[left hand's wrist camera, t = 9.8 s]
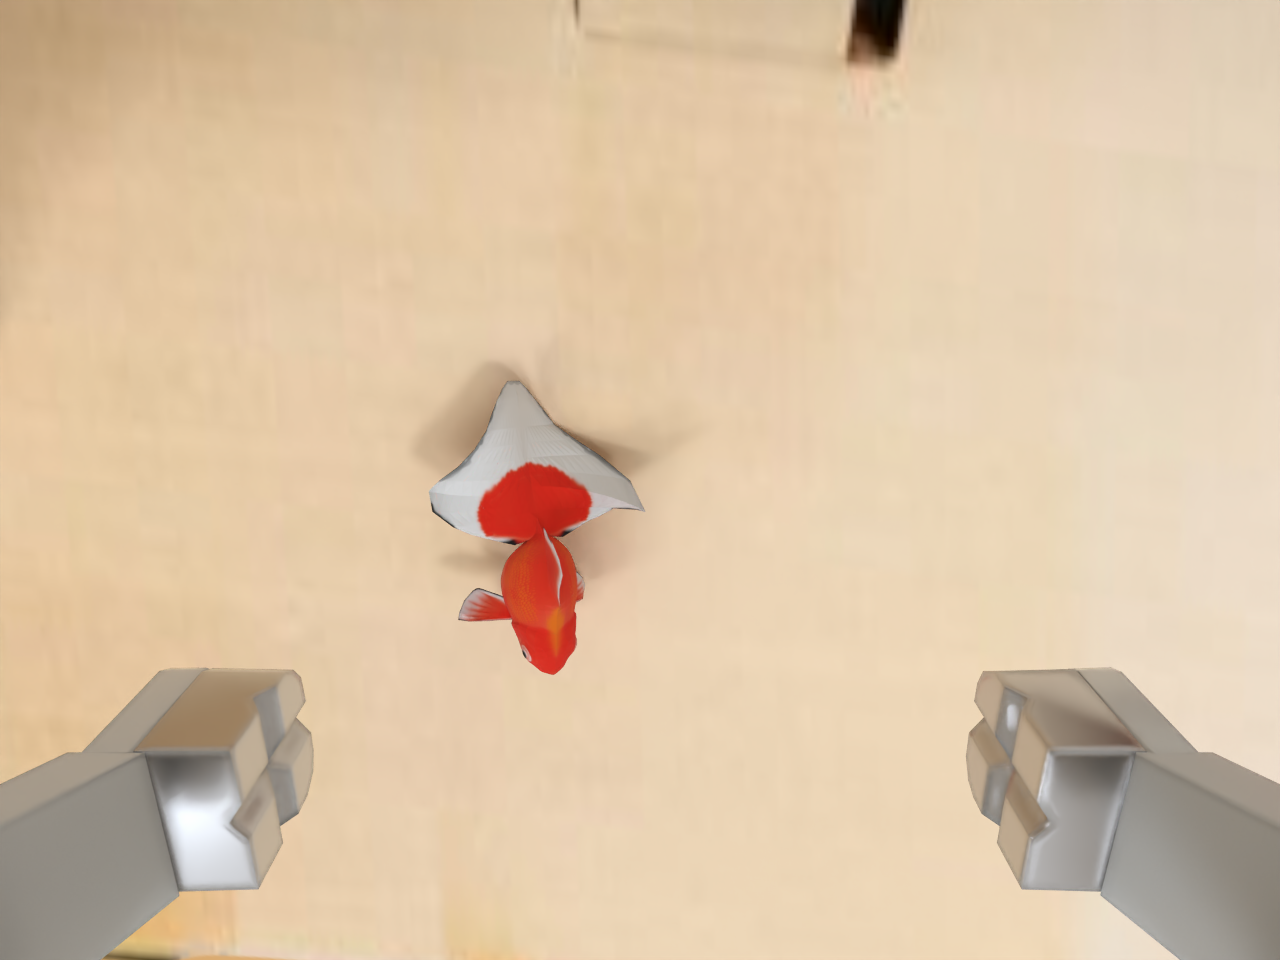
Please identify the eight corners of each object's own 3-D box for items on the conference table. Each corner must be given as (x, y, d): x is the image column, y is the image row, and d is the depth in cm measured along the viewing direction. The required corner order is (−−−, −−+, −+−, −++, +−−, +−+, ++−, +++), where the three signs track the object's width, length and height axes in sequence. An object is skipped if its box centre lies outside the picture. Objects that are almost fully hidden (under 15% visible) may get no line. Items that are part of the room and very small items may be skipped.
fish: (389, 649, 48) (418, 683, 39) (432, 379, 49) (471, 351, 40) (567, 662, 52) (631, 696, 43) (602, 414, 54) (672, 396, 45)
